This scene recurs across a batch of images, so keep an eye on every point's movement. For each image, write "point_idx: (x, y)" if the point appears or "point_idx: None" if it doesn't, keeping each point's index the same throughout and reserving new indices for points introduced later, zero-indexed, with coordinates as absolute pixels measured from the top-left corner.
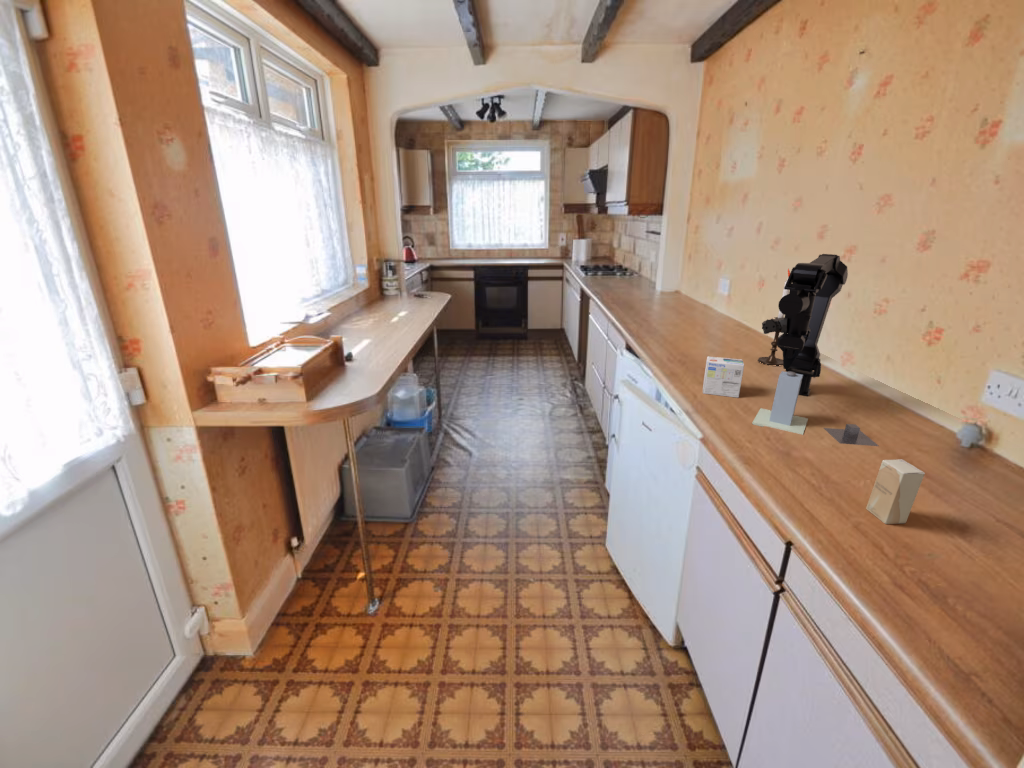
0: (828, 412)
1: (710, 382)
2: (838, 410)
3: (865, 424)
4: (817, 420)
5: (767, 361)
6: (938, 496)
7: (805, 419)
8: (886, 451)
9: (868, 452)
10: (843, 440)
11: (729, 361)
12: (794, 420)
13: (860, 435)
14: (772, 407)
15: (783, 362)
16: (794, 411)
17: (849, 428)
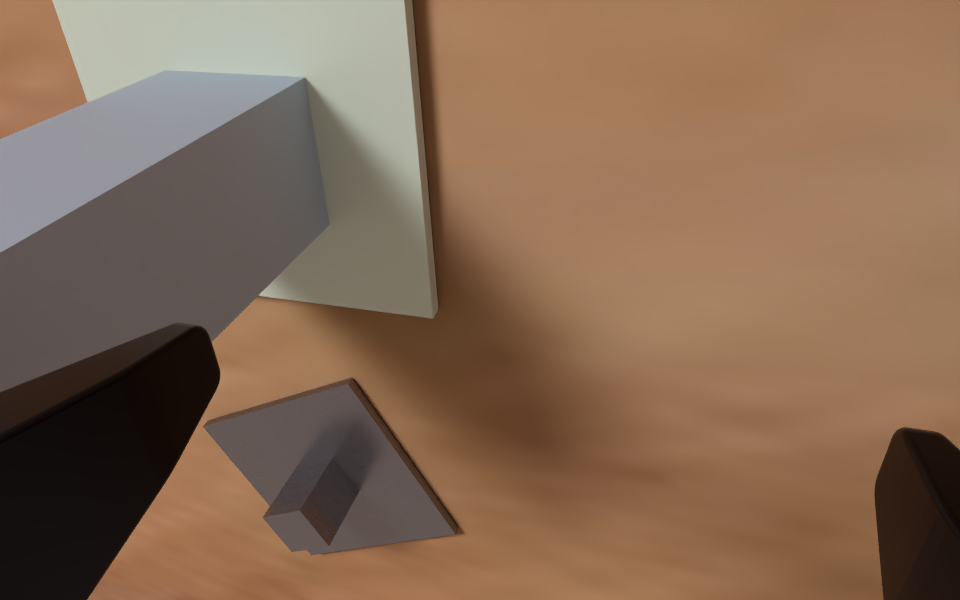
0: (713, 441)
1: None
2: (804, 502)
3: (601, 573)
4: (486, 363)
5: None
6: None
7: (398, 302)
8: (298, 561)
9: (229, 504)
10: (251, 445)
11: None
12: (322, 236)
13: (381, 520)
14: (72, 111)
15: (42, 378)
16: (295, 258)
17: (274, 507)
